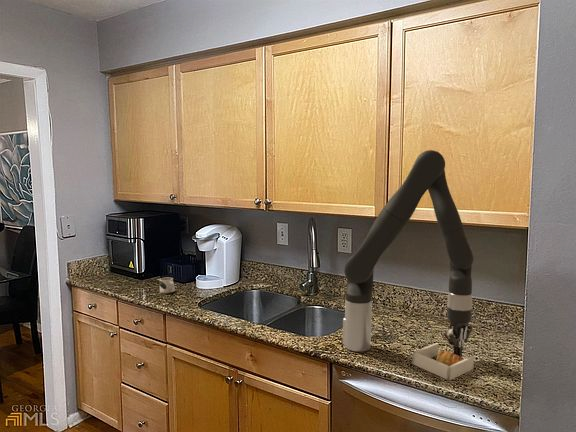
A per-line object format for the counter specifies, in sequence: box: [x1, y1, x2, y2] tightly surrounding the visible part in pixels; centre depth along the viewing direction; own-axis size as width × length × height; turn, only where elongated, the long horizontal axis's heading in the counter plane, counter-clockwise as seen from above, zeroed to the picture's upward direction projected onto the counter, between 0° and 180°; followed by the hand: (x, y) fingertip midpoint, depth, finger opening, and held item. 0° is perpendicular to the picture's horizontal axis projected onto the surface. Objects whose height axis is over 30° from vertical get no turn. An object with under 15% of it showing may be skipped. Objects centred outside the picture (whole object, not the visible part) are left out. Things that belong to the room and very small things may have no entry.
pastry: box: [436, 349, 465, 366], centre depth 140 cm, size 9×7×4 cm
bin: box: [411, 342, 475, 381], centre depth 139 cm, size 14×13×4 cm
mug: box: [158, 276, 176, 294], centre depth 221 cm, size 10×7×7 cm
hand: (457, 356), depth 144 cm, fingers closed
